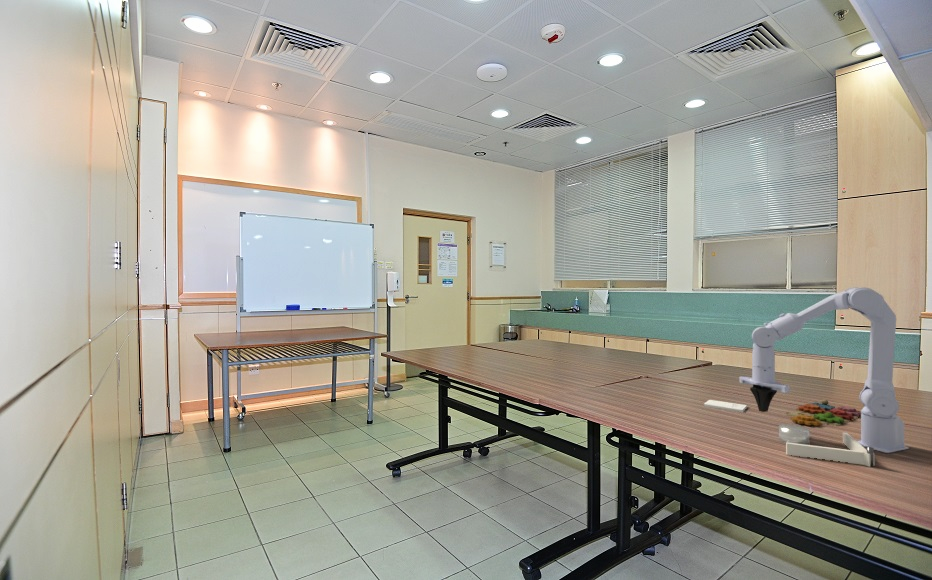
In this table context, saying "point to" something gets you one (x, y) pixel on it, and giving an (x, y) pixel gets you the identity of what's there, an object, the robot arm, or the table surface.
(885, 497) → the table surface
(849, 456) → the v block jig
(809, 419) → the gear puzzle
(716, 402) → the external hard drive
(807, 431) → the translucent glass bowl
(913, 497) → the table surface
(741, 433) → the table surface
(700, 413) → the table surface
